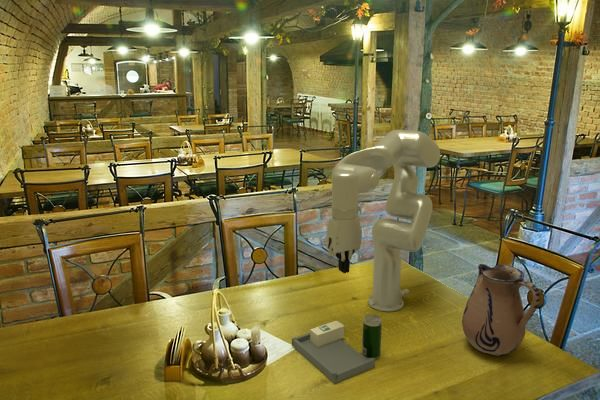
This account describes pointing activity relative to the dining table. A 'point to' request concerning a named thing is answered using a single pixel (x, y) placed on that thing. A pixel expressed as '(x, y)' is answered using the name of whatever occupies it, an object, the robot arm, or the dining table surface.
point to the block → (326, 333)
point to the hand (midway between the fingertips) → (343, 271)
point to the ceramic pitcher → (498, 310)
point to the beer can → (371, 336)
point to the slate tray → (333, 358)
